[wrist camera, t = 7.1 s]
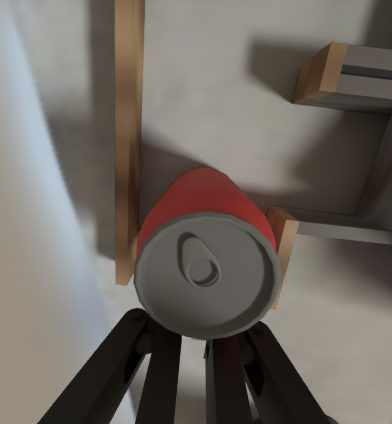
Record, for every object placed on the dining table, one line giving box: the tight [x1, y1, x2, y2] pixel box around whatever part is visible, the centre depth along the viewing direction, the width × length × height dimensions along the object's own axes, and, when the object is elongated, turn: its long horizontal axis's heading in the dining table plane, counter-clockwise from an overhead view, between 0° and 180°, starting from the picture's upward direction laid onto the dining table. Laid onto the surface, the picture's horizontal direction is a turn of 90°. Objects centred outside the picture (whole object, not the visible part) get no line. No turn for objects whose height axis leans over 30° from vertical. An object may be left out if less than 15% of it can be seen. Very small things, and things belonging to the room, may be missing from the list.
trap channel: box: [115, 0, 392, 310], centre depth 15 cm, size 30×22×5 cm
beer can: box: [134, 167, 281, 340], centre depth 14 cm, size 7×7×12 cm
